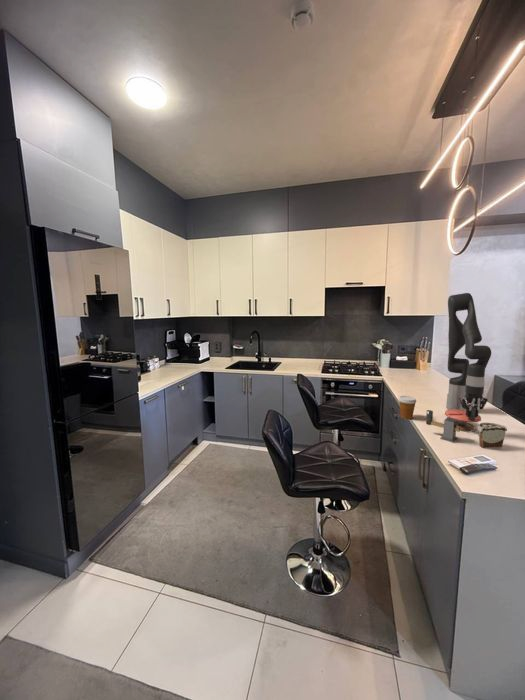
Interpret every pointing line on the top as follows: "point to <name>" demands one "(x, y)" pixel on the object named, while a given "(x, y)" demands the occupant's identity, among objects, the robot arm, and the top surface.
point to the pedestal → (465, 426)
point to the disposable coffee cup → (407, 406)
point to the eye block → (449, 430)
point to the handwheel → (463, 416)
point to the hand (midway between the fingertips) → (471, 416)
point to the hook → (430, 422)
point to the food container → (491, 435)
